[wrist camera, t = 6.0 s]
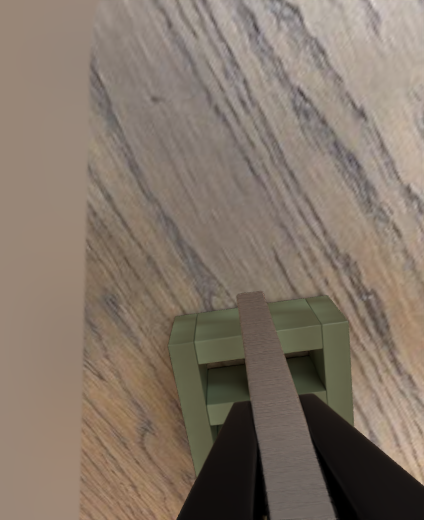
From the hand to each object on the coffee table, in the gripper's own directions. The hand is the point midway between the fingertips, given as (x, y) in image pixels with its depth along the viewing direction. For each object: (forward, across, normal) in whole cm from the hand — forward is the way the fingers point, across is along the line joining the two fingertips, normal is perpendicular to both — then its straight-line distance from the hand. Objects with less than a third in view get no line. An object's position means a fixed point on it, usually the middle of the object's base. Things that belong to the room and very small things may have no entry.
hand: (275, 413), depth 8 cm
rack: (+13, 0, +10) cm, 16 cm away
